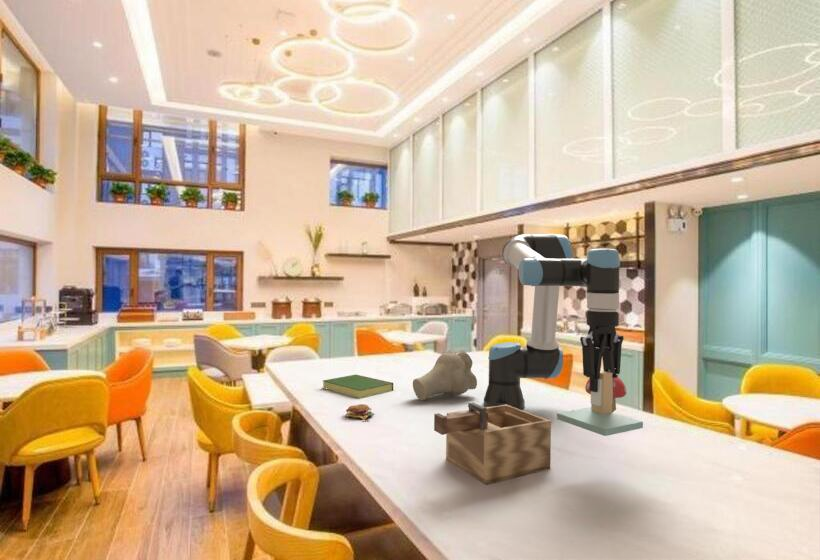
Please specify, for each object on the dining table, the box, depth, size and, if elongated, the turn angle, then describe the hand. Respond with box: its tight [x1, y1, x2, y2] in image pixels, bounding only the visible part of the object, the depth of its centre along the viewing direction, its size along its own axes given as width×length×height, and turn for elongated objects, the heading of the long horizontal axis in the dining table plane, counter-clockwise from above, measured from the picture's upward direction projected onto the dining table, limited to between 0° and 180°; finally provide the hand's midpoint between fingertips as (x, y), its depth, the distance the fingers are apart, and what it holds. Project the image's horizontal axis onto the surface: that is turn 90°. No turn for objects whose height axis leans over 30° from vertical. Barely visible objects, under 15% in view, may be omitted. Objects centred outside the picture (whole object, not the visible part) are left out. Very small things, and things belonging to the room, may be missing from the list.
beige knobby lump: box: [412, 349, 478, 402], centre depth 186 cm, size 22×22×28 cm
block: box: [433, 411, 488, 436], centre depth 109 cm, size 13×3×4 cm, turn 118°
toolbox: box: [445, 402, 552, 485], centre depth 118 cm, size 24×17×17 cm
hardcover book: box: [322, 374, 394, 399], centre depth 198 cm, size 25×19×4 cm
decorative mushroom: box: [584, 376, 627, 413], centre depth 164 cm, size 13×13×15 cm
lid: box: [556, 370, 644, 437], centre depth 112 cm, size 13×14×12 cm
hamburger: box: [345, 403, 375, 423], centre depth 158 cm, size 14×14×6 cm
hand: (601, 403), depth 116 cm, fingers closed on lid, 3 cm apart
